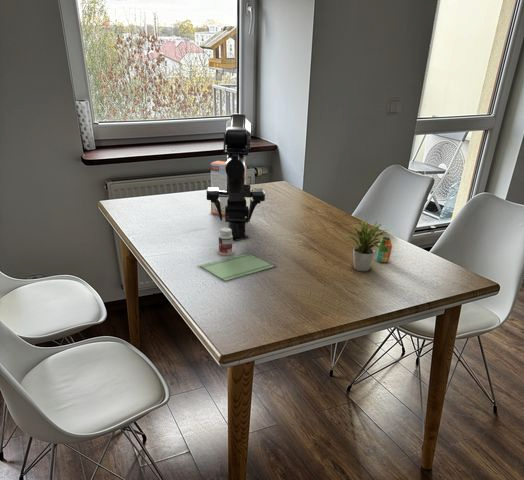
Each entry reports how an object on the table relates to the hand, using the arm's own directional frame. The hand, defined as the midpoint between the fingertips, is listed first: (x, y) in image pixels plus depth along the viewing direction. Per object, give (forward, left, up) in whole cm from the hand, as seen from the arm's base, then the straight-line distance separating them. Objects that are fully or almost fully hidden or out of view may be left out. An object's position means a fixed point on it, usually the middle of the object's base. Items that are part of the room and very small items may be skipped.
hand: (235, 220), depth 171 cm
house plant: (+33, +28, -13) cm, 45 cm away
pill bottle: (-4, -1, -13) cm, 13 cm away
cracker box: (-38, +25, -13) cm, 47 cm away
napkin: (+8, -5, -12) cm, 16 cm away
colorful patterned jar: (+32, +40, -12) cm, 53 cm away
